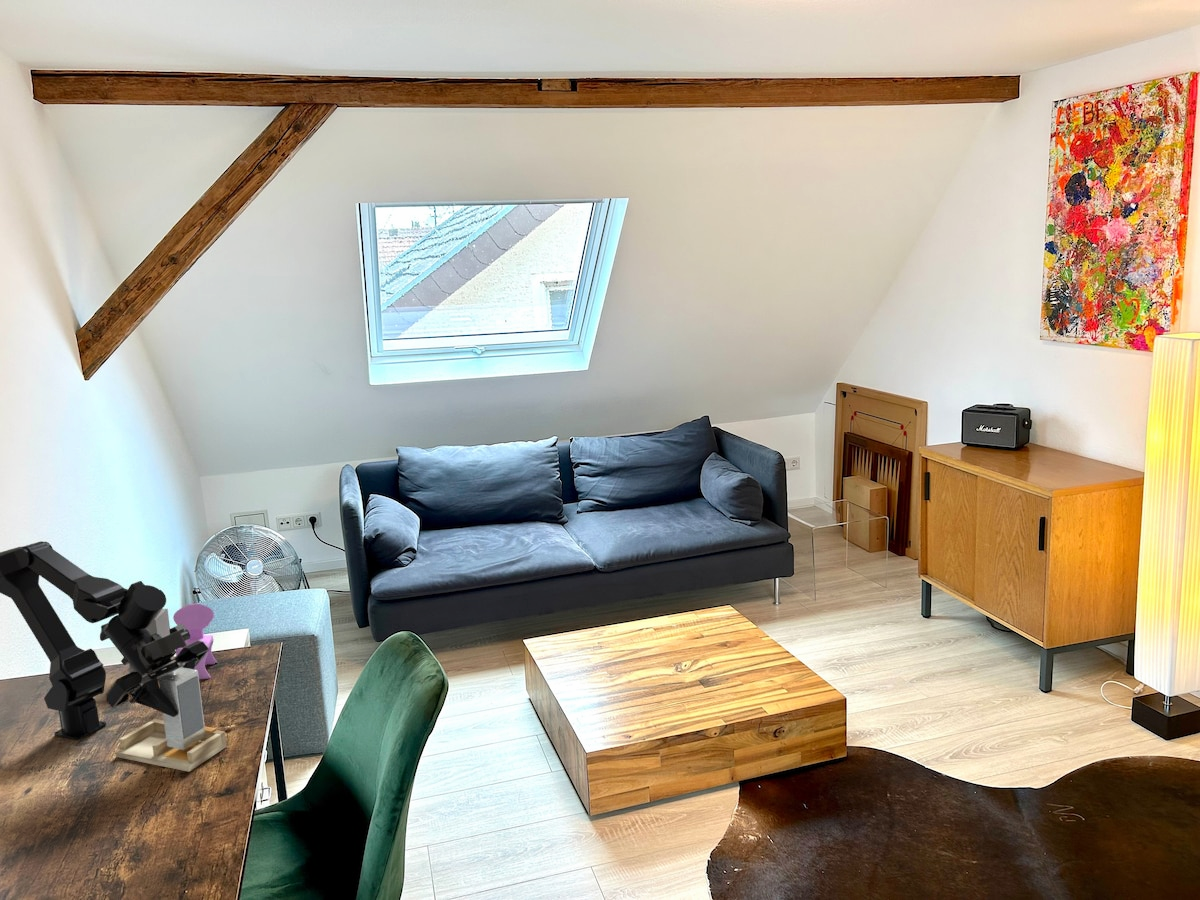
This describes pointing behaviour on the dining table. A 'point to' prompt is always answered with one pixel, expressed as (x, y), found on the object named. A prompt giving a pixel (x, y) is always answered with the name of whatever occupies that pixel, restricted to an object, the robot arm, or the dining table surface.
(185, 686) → the brushed steel block
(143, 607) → the robot arm
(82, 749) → the dining table surface
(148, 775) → the dining table surface
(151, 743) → the cream divided tray
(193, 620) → the toy chair
